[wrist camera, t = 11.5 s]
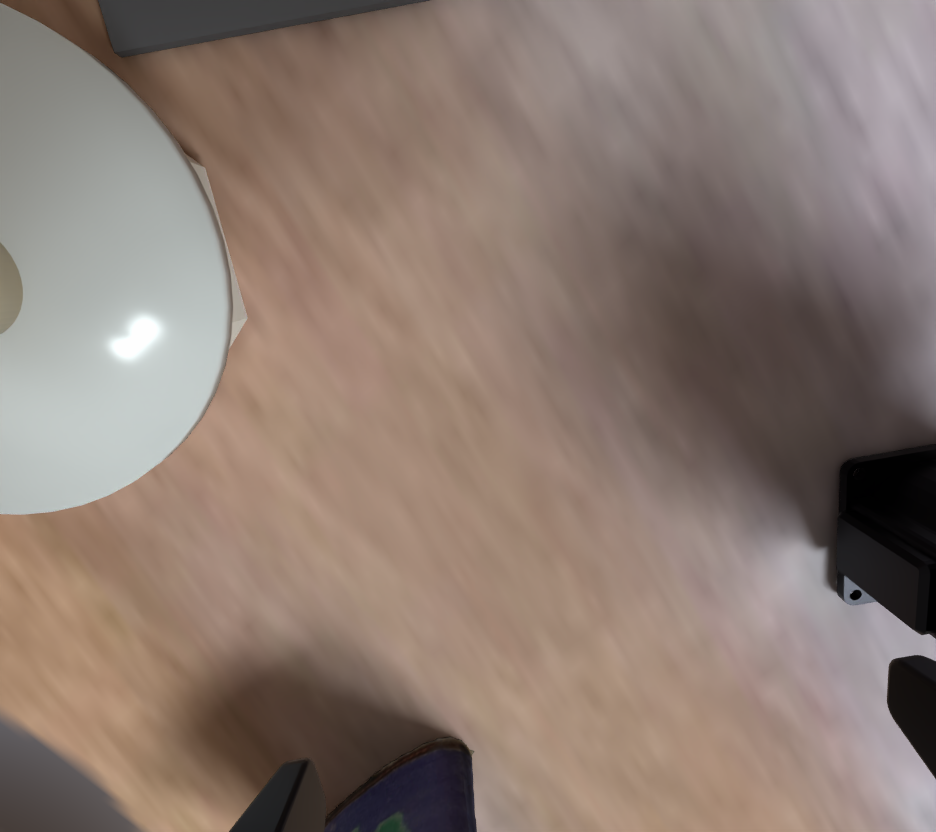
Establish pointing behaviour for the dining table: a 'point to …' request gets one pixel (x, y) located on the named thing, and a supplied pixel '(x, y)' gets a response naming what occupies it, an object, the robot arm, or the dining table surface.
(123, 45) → the mat
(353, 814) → the flask
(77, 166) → the lid
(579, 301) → the dining table surface
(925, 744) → the robot arm
